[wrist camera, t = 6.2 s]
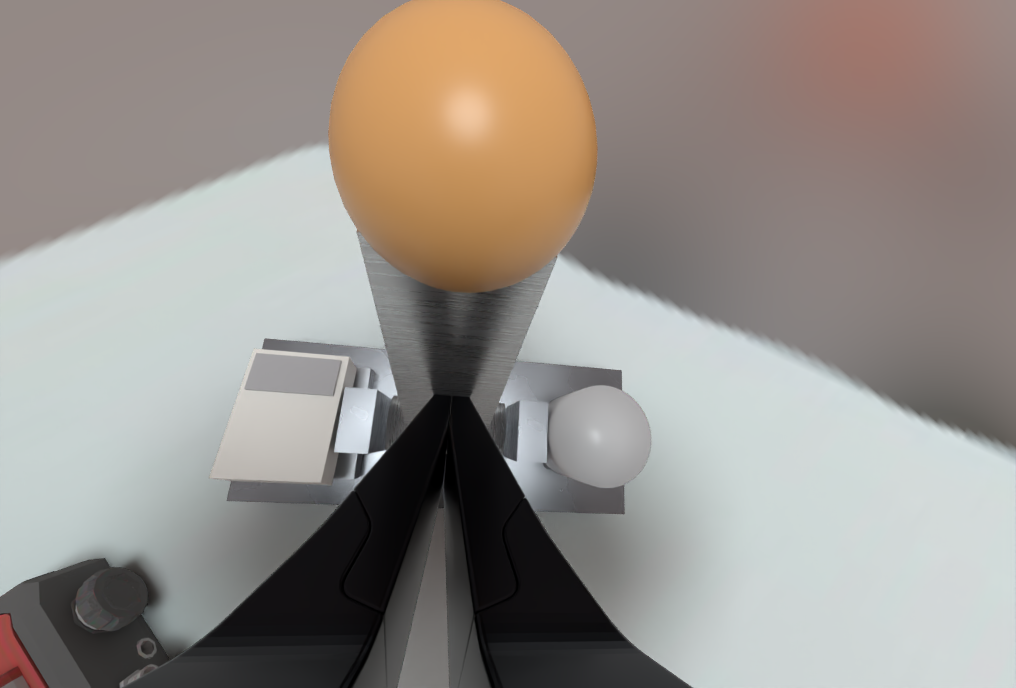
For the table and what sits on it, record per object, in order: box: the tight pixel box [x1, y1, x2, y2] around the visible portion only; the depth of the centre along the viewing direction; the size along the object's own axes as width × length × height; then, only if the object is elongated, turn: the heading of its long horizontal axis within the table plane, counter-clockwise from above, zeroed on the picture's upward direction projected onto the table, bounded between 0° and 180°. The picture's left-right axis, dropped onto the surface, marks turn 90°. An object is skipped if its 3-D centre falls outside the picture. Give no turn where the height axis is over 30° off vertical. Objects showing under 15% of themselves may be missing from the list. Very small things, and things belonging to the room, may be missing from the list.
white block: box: [209, 349, 357, 485], centre depth 12 cm, size 4×3×1 cm
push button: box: [546, 385, 651, 488], centre depth 13 cm, size 3×3×3 cm
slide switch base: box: [227, 339, 625, 514], centre depth 14 cm, size 6×15×5 cm, turn 86°
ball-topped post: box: [328, 0, 597, 455], centre depth 9 cm, size 3×4×13 cm
